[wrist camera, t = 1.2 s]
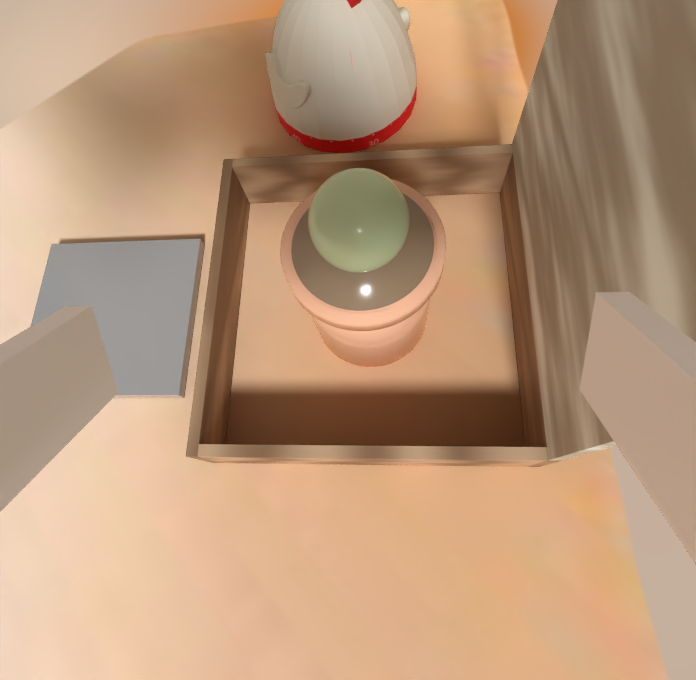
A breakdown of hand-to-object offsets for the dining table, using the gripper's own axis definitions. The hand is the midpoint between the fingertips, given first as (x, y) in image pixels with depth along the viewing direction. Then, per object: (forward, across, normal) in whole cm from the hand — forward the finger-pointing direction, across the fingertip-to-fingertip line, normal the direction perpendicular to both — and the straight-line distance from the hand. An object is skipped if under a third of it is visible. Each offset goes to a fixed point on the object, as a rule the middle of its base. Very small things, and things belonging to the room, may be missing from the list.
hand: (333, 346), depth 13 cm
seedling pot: (+25, 0, -9) cm, 26 cm away
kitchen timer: (+41, -3, +7) cm, 42 cm away
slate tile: (+25, -22, -9) cm, 35 cm away
